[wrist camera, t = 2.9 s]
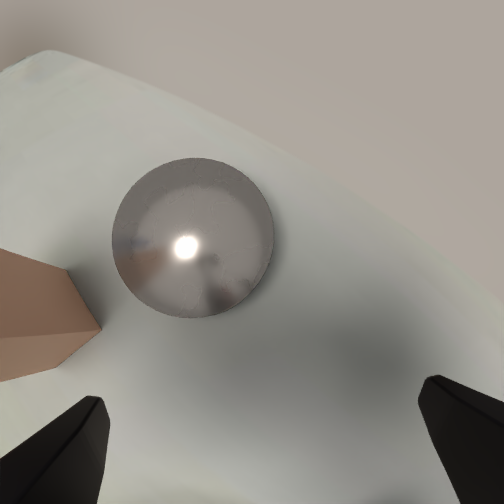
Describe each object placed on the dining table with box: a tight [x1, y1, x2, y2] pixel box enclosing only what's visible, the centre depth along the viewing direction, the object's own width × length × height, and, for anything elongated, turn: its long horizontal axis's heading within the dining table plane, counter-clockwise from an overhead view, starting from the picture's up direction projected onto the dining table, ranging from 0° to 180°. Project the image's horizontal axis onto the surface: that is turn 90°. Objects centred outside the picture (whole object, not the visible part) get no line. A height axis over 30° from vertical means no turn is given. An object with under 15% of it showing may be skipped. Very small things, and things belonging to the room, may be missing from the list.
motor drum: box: [112, 158, 274, 318], centre depth 19 cm, size 9×9×4 cm
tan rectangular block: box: [0, 248, 102, 382], centre depth 13 cm, size 5×5×12 cm
